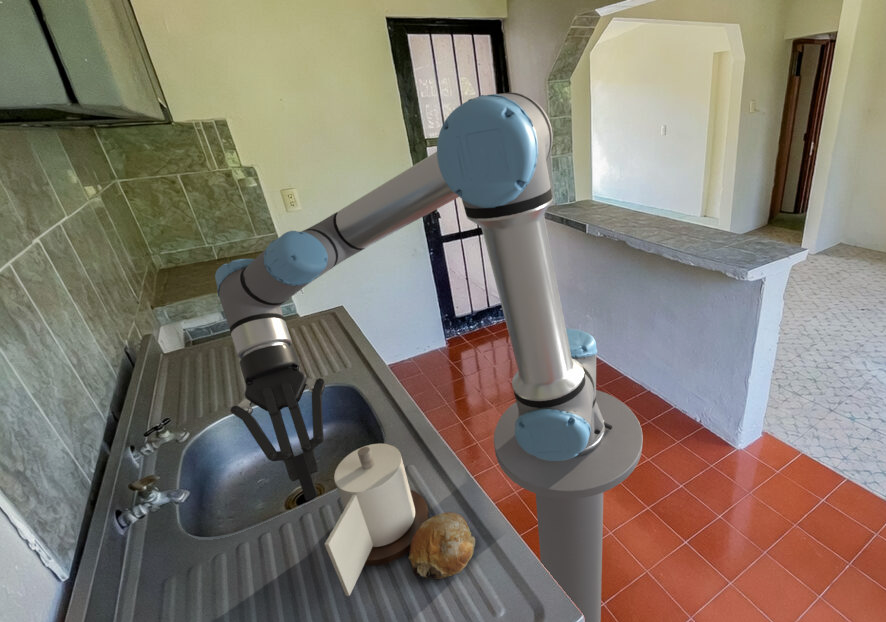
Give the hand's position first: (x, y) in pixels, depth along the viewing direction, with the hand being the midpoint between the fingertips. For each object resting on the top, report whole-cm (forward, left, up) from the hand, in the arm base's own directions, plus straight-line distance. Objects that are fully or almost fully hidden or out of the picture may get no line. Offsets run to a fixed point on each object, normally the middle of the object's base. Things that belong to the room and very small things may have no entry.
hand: (312, 497), depth 67 cm
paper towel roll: (-5, -1, -12) cm, 13 cm away
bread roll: (-17, +5, -14) cm, 22 cm away
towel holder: (-8, -3, -14) cm, 16 cm away
